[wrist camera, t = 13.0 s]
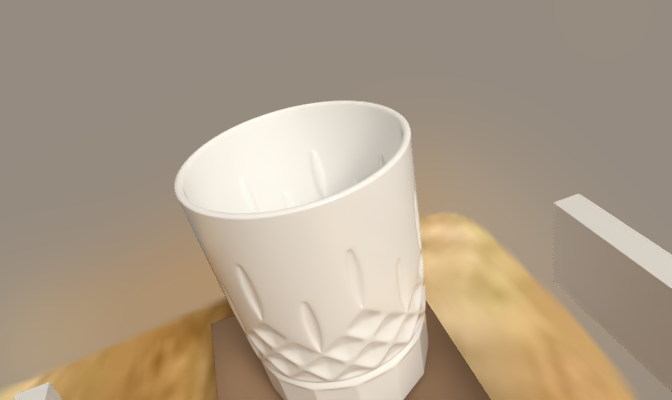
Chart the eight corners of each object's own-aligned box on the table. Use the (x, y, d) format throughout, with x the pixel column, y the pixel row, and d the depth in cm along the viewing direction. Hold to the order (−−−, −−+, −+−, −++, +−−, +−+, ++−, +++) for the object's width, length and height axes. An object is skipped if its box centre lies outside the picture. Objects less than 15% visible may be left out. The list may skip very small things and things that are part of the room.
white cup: (255, 319, 26) (182, 135, 21) (410, 275, 26) (376, 83, 21) (265, 467, 19) (160, 247, 14) (474, 404, 19) (447, 167, 14)
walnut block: (261, 577, 20) (227, 521, 17) (235, 377, 28) (211, 323, 26) (504, 477, 21) (500, 414, 19) (409, 315, 29) (398, 259, 27)
